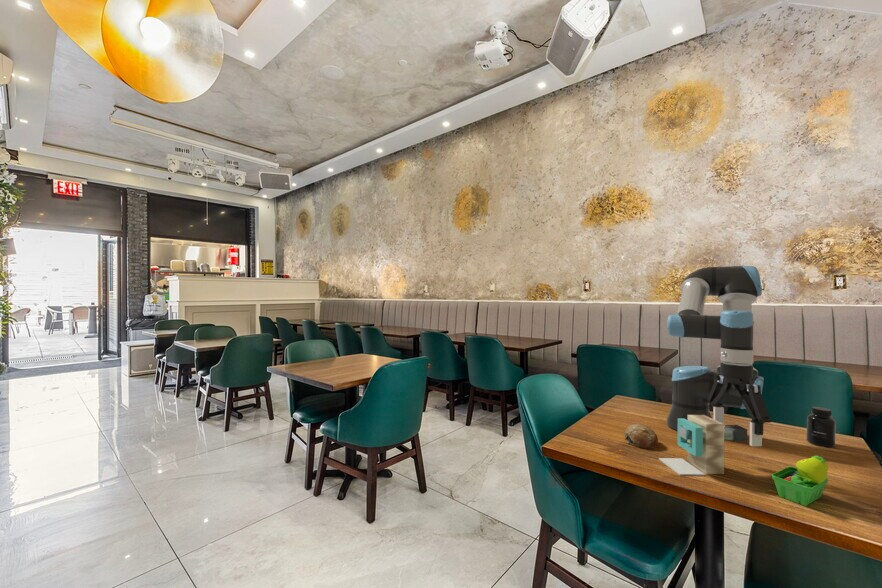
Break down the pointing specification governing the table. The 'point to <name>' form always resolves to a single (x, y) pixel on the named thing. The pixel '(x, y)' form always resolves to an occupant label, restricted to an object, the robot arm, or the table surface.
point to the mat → (681, 466)
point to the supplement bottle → (821, 427)
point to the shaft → (730, 433)
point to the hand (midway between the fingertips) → (736, 436)
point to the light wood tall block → (709, 445)
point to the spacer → (697, 437)
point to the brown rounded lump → (641, 436)
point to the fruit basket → (802, 480)
